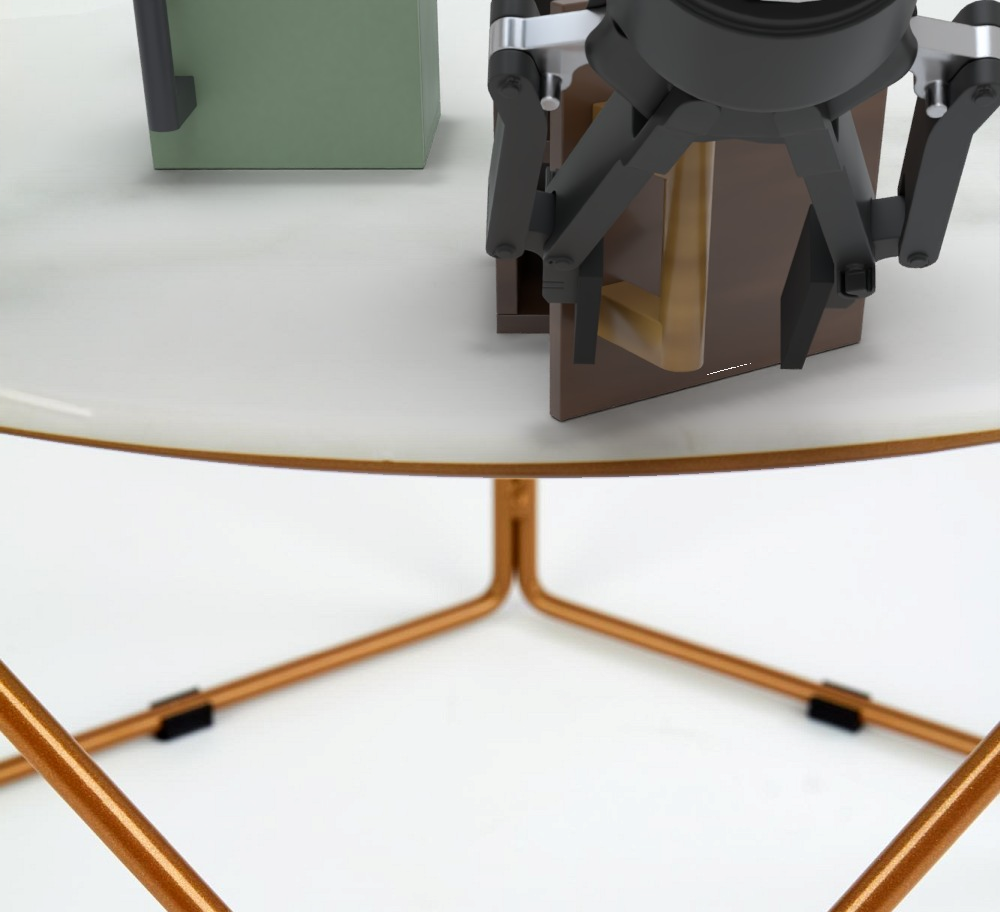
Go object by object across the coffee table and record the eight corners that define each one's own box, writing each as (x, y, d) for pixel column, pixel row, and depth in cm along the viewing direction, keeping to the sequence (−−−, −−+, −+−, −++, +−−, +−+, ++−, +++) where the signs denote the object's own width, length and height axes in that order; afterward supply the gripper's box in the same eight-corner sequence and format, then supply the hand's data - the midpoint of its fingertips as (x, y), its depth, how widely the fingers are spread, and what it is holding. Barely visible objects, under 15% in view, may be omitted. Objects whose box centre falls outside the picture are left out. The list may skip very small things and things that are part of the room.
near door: (953, 382, 66) (1010, -22, 58) (643, 472, 60) (659, 31, 52) (848, 336, 71) (887, -46, 63) (548, 414, 64) (549, 0, 56)
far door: (414, 197, 88) (402, -116, 80) (131, 197, 89) (90, -113, 81) (424, 164, 93) (413, -133, 85) (156, 165, 94) (120, -130, 86)
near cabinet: (852, 337, 71) (892, -52, 63) (496, 335, 72) (490, -49, 64) (823, 253, 80) (855, -96, 72) (508, 252, 81) (504, -93, 73)
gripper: (338, 13, 38) (408, 423, 60) (1233, 32, 37) (966, 437, 60) (356, -279, 39) (417, 228, 62) (1216, -264, 39) (962, 240, 61)
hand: (688, 330), depth 61 cm, fingers open, 7 cm apart
